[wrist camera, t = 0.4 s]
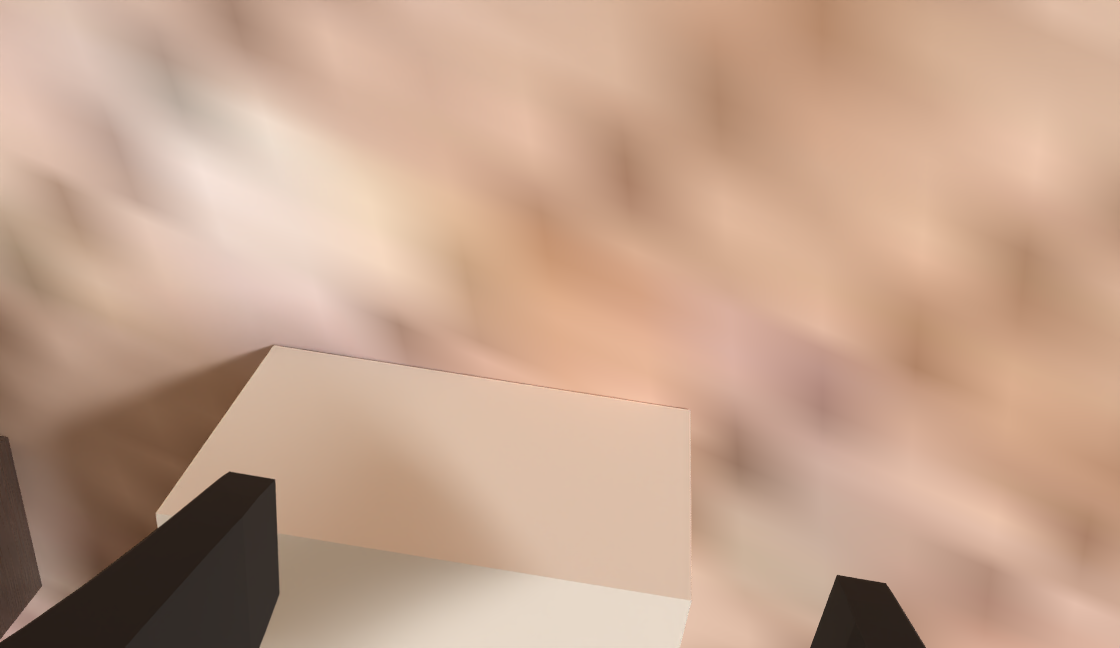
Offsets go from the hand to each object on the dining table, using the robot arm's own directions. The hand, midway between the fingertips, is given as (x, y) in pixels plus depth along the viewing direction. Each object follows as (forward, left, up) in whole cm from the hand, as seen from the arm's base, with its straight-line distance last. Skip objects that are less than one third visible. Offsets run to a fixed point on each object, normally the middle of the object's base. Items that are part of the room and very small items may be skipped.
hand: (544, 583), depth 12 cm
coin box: (-11, +2, -10) cm, 15 cm away
